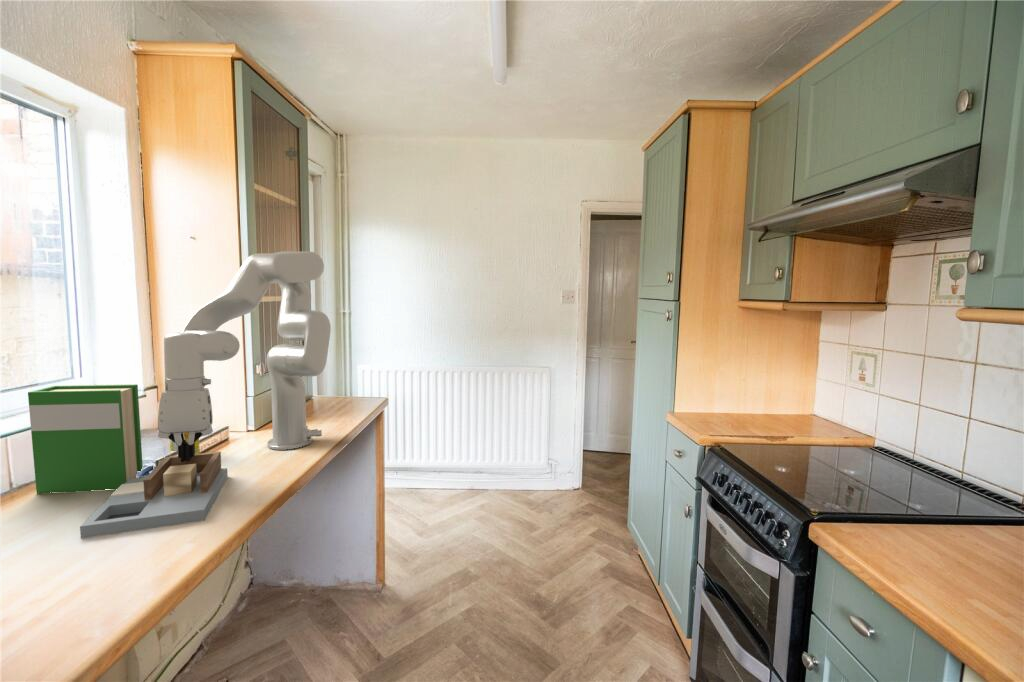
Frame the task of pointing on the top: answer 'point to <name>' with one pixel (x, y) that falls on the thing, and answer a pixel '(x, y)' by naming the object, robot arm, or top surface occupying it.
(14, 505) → the top surface
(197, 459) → the brown wooden u-shaped frame
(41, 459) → the hardback book
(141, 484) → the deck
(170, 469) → the block
